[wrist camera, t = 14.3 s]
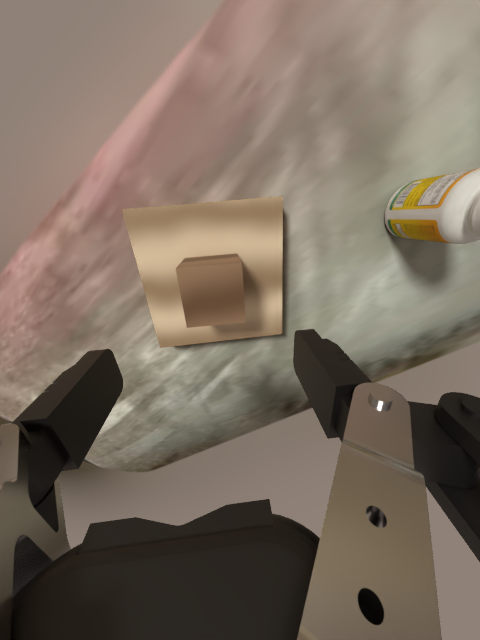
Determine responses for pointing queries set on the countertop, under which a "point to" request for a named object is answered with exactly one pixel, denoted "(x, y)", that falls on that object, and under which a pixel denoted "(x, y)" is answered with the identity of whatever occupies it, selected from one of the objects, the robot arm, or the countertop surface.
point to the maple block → (207, 240)
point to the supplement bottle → (437, 209)
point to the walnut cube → (212, 290)
